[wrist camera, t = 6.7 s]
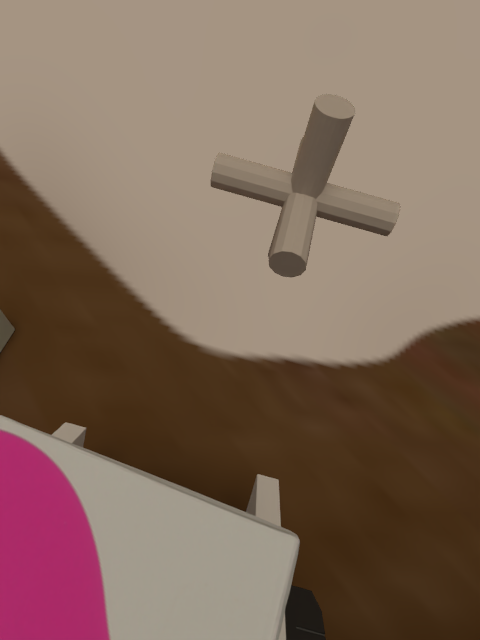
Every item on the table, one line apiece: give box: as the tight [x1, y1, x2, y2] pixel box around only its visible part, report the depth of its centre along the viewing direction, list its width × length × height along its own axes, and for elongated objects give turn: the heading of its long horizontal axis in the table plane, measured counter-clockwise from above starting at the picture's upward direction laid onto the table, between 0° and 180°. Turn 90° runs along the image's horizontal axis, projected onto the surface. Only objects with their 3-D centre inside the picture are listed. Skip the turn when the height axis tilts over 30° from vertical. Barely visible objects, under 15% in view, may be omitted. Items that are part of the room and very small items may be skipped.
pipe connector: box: [211, 94, 400, 277], centre depth 21 cm, size 10×10×10 cm
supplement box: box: [0, 415, 300, 640], centre depth 10 cm, size 6×6×12 cm
